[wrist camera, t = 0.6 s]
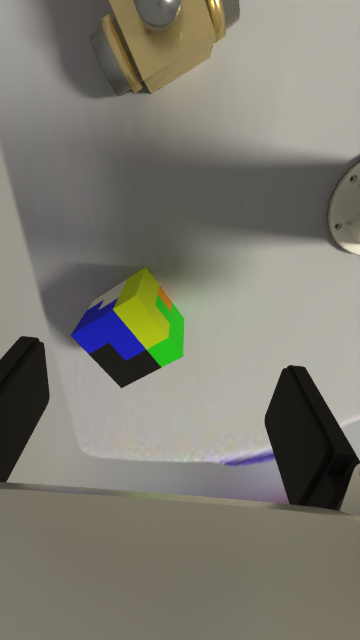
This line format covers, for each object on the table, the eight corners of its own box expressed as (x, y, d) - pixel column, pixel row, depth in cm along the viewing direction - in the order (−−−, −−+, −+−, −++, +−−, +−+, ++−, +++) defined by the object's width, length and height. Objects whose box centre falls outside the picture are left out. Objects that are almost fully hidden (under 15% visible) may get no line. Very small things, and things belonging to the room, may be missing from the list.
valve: (211, -45, 28) (220, -115, 20) (237, 40, 31) (252, 5, 23) (95, 38, 31) (66, 2, 23) (127, 108, 34) (111, 95, 26)
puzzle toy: (93, 300, 45) (70, 335, 37) (146, 266, 43) (135, 295, 34) (133, 346, 49) (121, 388, 41) (183, 318, 47) (183, 356, 38)
